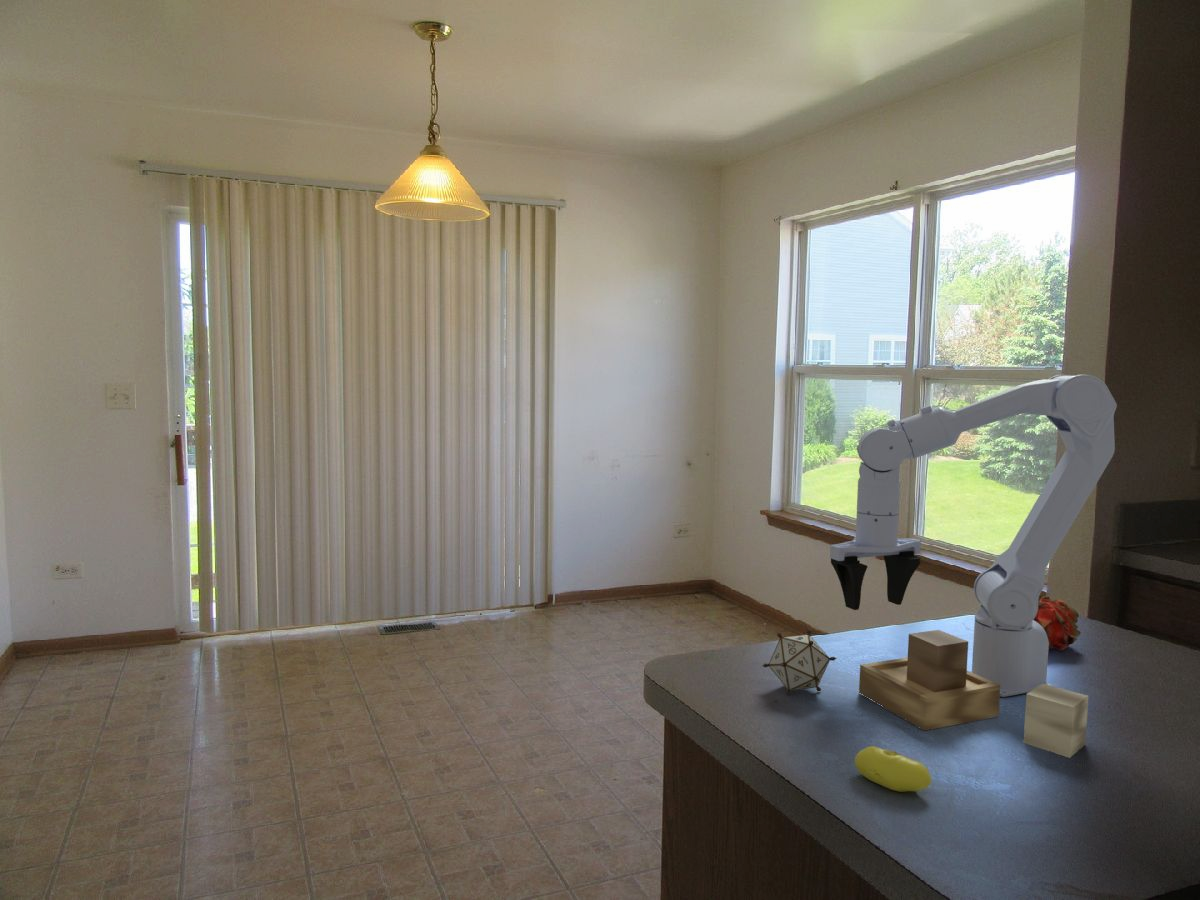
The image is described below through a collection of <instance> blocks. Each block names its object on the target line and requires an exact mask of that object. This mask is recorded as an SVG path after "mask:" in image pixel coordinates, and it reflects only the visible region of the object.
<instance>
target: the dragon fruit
mask: <svg viewBox="0 0 1200 900" xmlns="http://www.w3.org/2000/svg"><path fill="white" fill-rule="evenodd" d="M1079 615H1080V614H1079V613H1078V611H1077V610H1076V609H1075V608H1072V607H1070V606H1069V605H1068V603H1067V602H1066V601H1065V600H1063V599H1055V600H1052V599H1051V598H1050V597H1049V596H1042V597H1041V598H1040V599H1039V600H1038V612H1037V614H1036V616H1035V618H1034V619H1033V620H1034V621H1036V622H1037V623H1039V624H1040V625H1041V626H1042V627H1043V629H1044V630H1045V632H1046V634H1047V637H1048V642H1049V648H1048V650H1050V649H1053V648H1054V649H1055V650H1057V651H1063V650H1064V649H1066V648H1068V647H1069V646H1071V645H1073V644H1074V643H1075V642H1076V641H1077V640H1078V637H1080V635H1081V633H1082V632H1081V631H1080V630H1078V628H1079V626H1078V625H1077V623H1078V621H1079V620H1078V618H1079Z"/></svg>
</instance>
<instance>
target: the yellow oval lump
mask: <svg viewBox="0 0 1200 900" xmlns="http://www.w3.org/2000/svg"><path fill="white" fill-rule="evenodd" d="M854 764H855V767H856V769H857V771H858V772H859V773H860V774H861V775H862V776H863V777H864V778H866V779H868V780H869V781H870V782H873V783H876V784H877V785H880V786H882V787H884V788H887V789H889V790H891V791H895V792H899V793H901V792H902V793H905V792H919V791H923V790H926V789H927V788H928V787H929V786H930V785H931V783H932V777H931V773H930V772H929V770H928V769H927V767H926V766H925V765H924V764H923V763H922V762H920V761H917V760H915V759H911V758H909V757H907V756H906V755H902V754H899V753H898V752H896V751H894V750H888V749H884V748H881V747H878V746H875V745H871V746H867V747H865V748H864V749H862V750H860V751H859V752H858V753H857V754H856V755H855V757H854Z"/></svg>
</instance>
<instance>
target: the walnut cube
mask: <svg viewBox="0 0 1200 900" xmlns="http://www.w3.org/2000/svg"><path fill="white" fill-rule="evenodd" d="M907 641H908V643H907V644H908V647H907V657H908V660H907V679H909V680H911V681H913V682H915V683H917V684H919V685H921V686H923V687H925V688H927V689H929V690H931V691H933V692H941V691H947V690H952V689H958V688H964V687H966V675H967V671H968V653H969V641H968V640H966V639H964V638H960V637H958V636H956V635H953V634H950V633H947V632H945V631H943V630H941V629H934V630H926V631H918V632H913V633H908V640H907Z"/></svg>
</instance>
